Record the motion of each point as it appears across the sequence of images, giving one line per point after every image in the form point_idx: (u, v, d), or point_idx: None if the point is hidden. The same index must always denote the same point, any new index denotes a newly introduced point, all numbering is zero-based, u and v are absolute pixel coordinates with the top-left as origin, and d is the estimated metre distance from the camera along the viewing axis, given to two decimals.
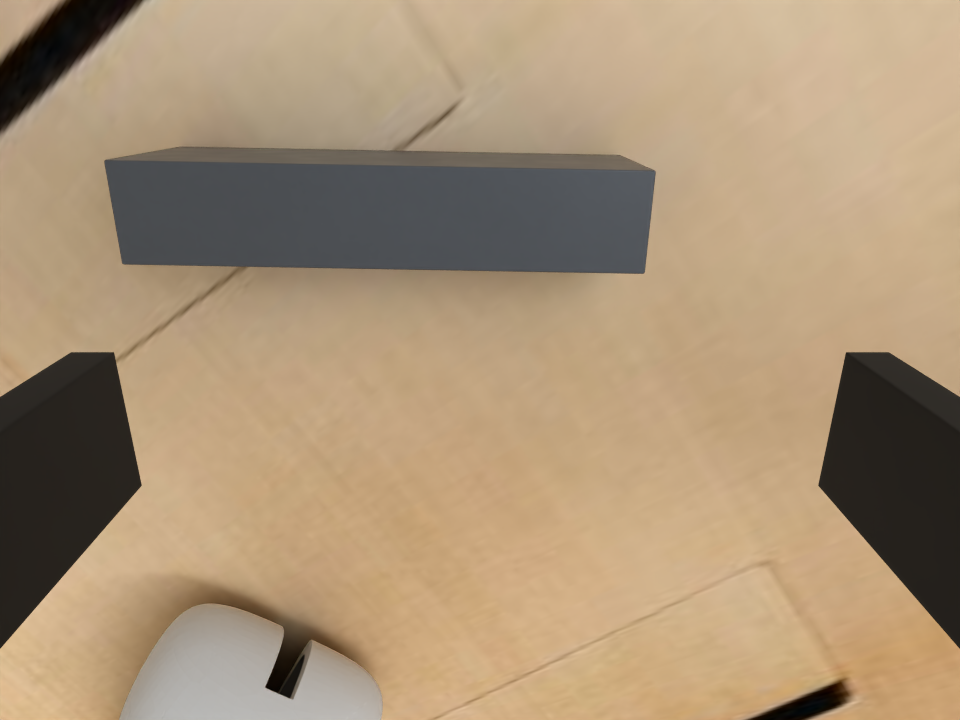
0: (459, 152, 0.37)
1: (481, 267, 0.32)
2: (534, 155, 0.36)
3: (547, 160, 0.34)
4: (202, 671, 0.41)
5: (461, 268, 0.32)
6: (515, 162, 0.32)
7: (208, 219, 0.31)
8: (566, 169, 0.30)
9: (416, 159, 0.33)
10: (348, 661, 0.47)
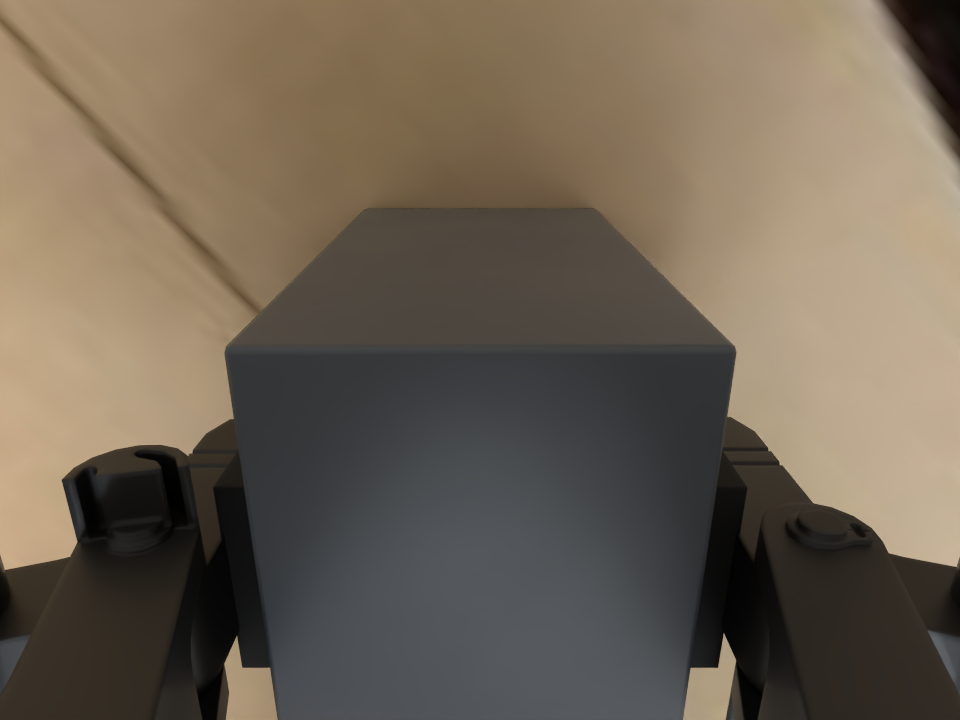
0: None
1: None
2: None
3: None
4: None
5: None
6: None
7: (464, 704, 0.08)
8: None
9: None
10: None
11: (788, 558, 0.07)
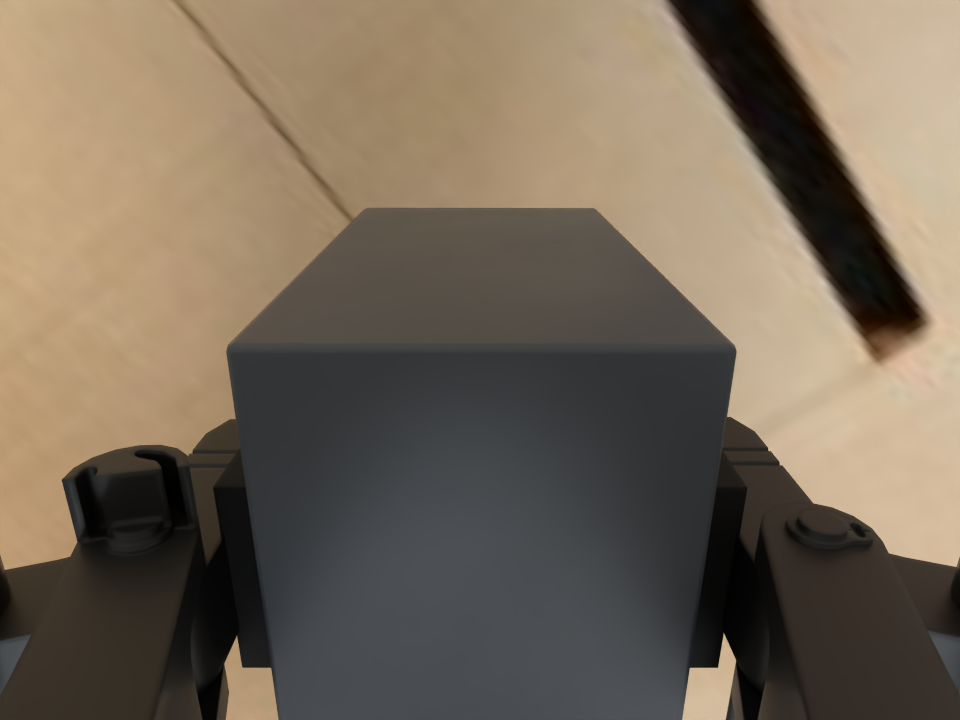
0: None
1: None
2: None
3: None
4: None
5: None
6: None
7: (464, 702, 0.08)
8: None
9: None
10: None
11: (788, 558, 0.07)
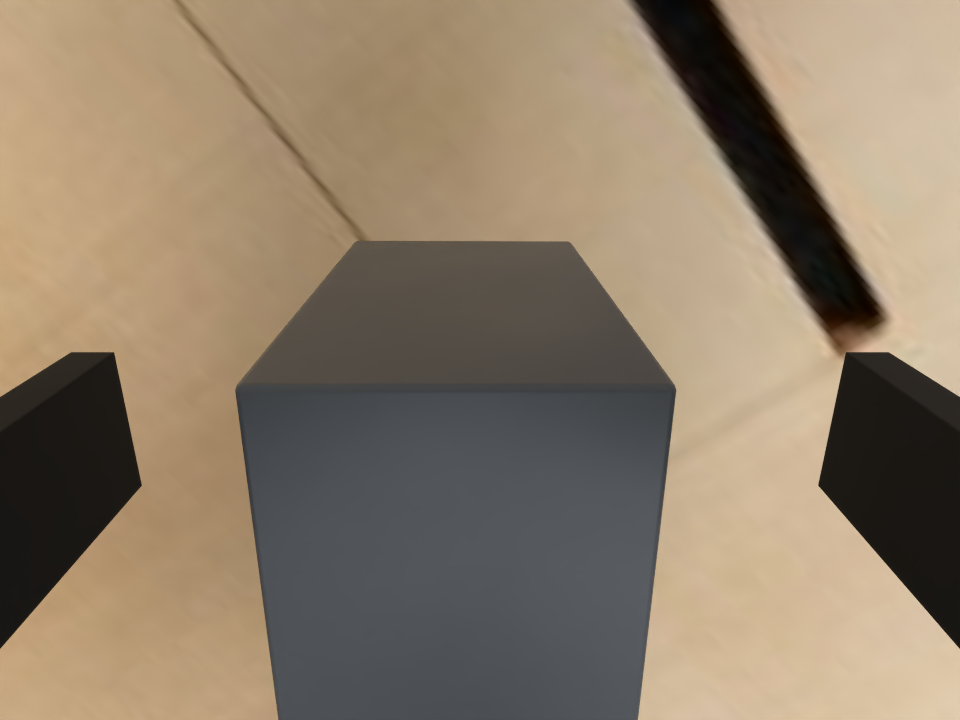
0: None
1: None
2: None
3: None
4: None
5: None
6: None
7: (444, 698, 0.09)
8: None
9: None
10: None
11: None
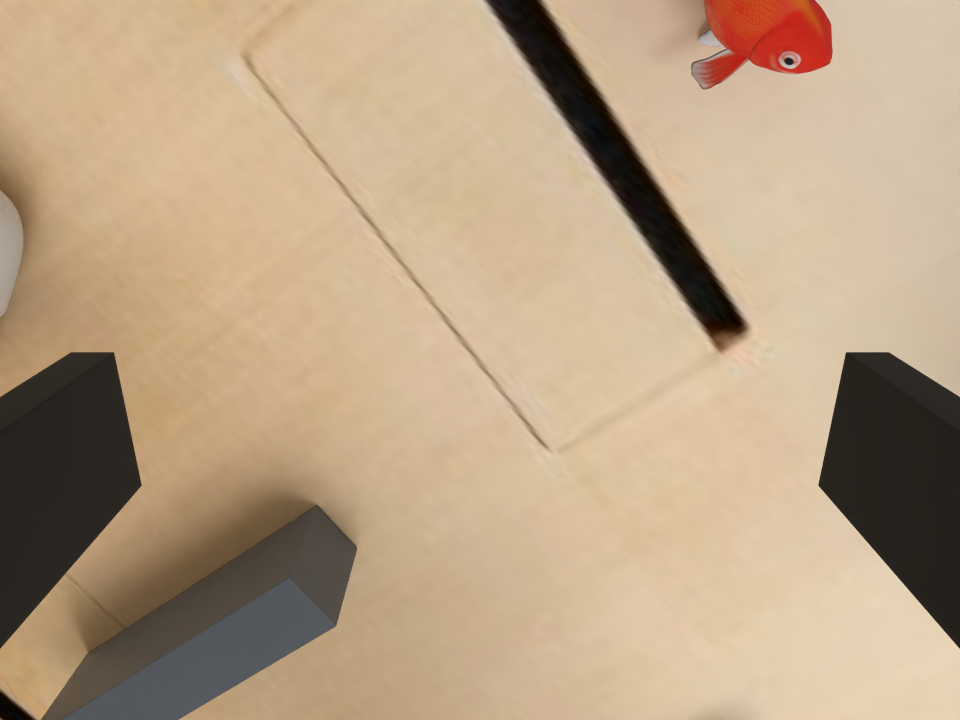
0: None
1: (102, 696, 0.46)
2: None
3: None
4: None
5: (111, 689, 0.46)
6: None
7: (260, 631, 0.44)
8: None
9: None
10: None
11: None
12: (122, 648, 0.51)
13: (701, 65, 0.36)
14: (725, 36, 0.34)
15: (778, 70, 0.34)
